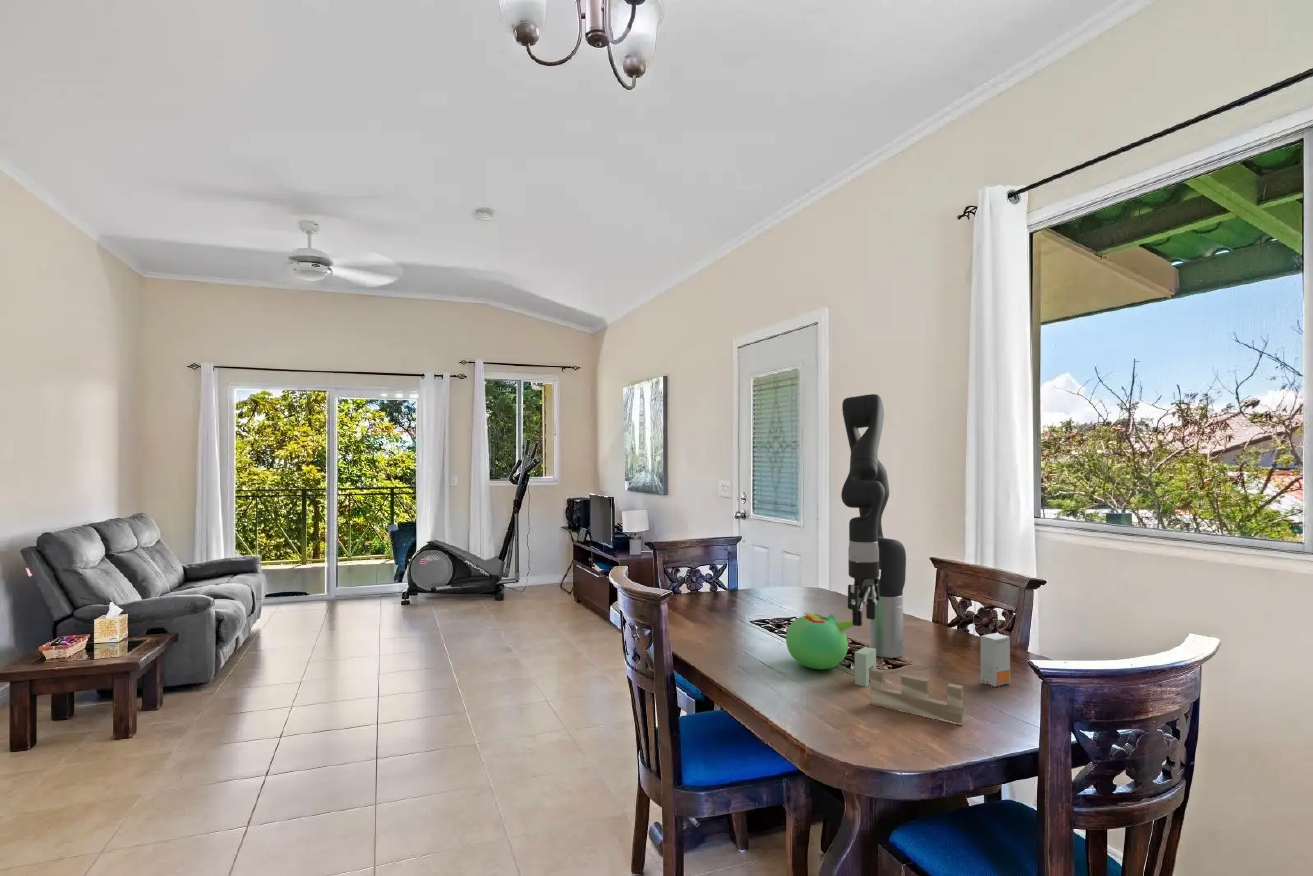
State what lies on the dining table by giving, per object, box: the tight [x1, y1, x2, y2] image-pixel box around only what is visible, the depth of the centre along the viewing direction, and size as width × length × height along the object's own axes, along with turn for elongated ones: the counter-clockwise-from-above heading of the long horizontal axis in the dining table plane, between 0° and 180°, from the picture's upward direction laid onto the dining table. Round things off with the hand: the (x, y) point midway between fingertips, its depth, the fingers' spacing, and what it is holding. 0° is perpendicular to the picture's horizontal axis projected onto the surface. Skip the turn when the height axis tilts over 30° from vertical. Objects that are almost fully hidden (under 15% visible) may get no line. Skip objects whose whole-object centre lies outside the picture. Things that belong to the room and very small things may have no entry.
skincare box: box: [980, 632, 1011, 685], centre depth 173 cm, size 6×4×12 cm
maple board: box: [869, 667, 965, 723], centre depth 154 cm, size 2×20×8 cm, turn 50°
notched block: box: [854, 646, 877, 688], centre depth 174 cm, size 6×3×8 cm, turn 140°
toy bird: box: [785, 612, 854, 670], centre depth 187 cm, size 18×17×15 cm
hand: (864, 622), depth 175 cm, fingers open, 8 cm apart
